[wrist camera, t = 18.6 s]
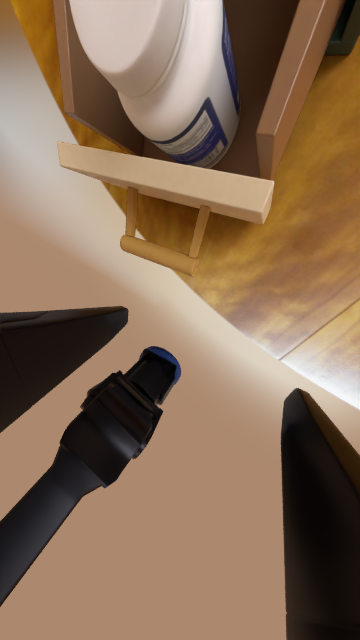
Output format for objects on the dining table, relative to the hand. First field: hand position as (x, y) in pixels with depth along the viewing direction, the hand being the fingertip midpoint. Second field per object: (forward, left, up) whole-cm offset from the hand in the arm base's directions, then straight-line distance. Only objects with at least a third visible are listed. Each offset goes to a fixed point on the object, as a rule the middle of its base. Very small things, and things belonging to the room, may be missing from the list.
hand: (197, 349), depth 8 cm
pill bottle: (-7, +11, -10) cm, 16 cm away
